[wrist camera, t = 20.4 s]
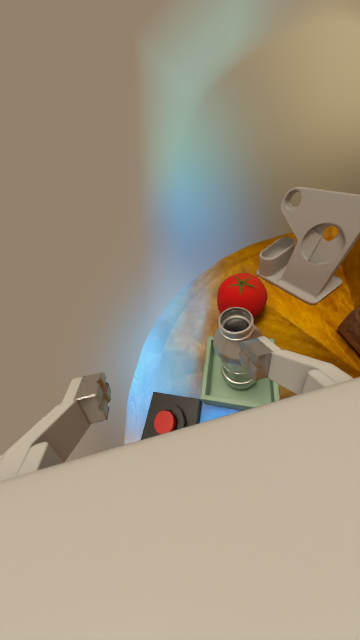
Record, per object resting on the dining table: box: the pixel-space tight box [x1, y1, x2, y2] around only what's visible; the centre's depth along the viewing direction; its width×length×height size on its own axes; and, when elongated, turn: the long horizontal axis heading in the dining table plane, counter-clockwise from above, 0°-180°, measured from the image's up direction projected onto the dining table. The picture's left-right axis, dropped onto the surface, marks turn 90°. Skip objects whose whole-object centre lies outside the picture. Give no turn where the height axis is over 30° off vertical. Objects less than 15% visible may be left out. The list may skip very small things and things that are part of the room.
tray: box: [200, 337, 280, 410], centre depth 34 cm, size 13×13×5 cm
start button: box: [154, 410, 177, 434], centre depth 31 cm, size 4×4×2 cm
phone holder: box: [257, 187, 360, 305], centre depth 38 cm, size 17×10×18 cm, turn 32°
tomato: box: [217, 273, 267, 318], centre depth 40 cm, size 10×11×11 cm
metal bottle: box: [213, 307, 263, 389], centre depth 27 cm, size 6×7×20 cm
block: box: [141, 392, 202, 440], centre depth 33 cm, size 10×10×4 cm
